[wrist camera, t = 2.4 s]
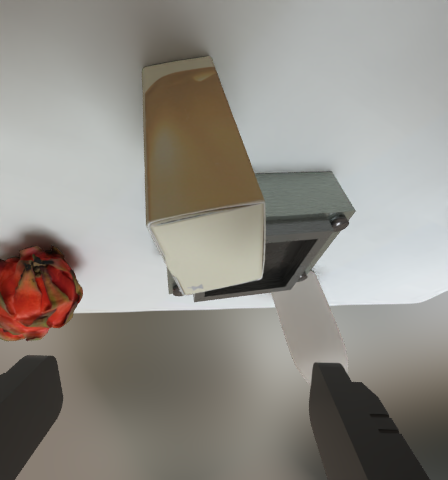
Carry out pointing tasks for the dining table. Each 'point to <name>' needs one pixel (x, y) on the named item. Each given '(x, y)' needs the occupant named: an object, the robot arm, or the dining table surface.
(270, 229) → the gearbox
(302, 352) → the milk bottle
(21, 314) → the dragon fruit
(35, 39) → the dining table surface
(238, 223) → the skincare box
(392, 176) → the dining table surface
